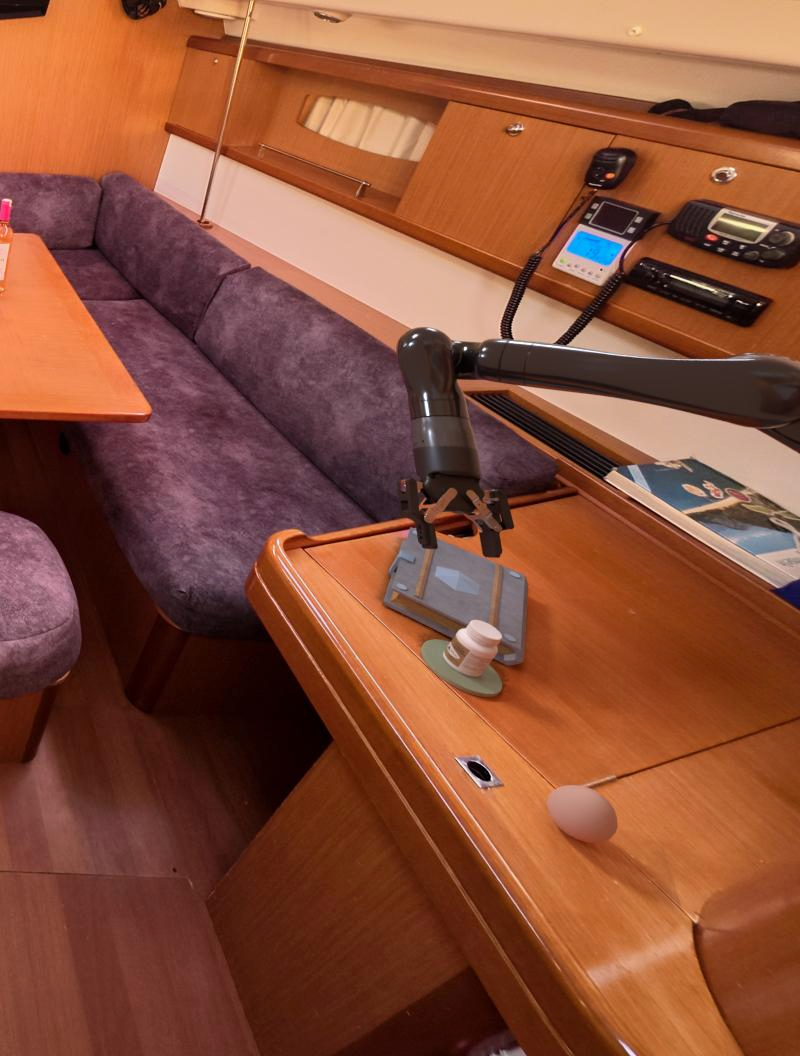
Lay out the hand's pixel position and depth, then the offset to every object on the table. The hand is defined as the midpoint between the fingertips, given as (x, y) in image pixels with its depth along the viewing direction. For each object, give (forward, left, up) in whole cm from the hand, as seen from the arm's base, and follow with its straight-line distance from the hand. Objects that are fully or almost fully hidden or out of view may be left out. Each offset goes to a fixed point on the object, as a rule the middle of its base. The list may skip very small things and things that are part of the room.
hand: (461, 553), depth 95 cm
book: (-4, -9, -15) cm, 18 cm away
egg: (-14, +27, -15) cm, 34 cm away
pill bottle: (-5, +7, -14) cm, 17 cm away
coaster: (-5, +8, -15) cm, 17 cm away
